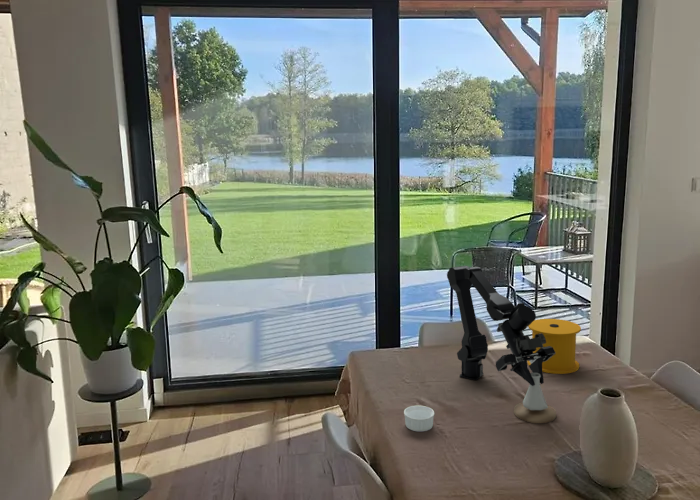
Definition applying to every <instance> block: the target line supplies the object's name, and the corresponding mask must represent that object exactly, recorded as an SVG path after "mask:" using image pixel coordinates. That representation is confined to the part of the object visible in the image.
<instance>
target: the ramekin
mask: <svg viewBox="0 0 700 500" xmlns="http://www.w3.org/2000/svg"><path fill="white" fill-rule="evenodd" d="M403 415H404V423H405V426H406V428H407V429H409V430H410V431H413V432H422V433H423V432H427V431H430V430H431V429H432V428H433V425H434V416H435V411H434V410H433V408H431V407H429V406H425V405H410V406H408V407H406V408H405V409H404V410H403Z"/></svg>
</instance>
